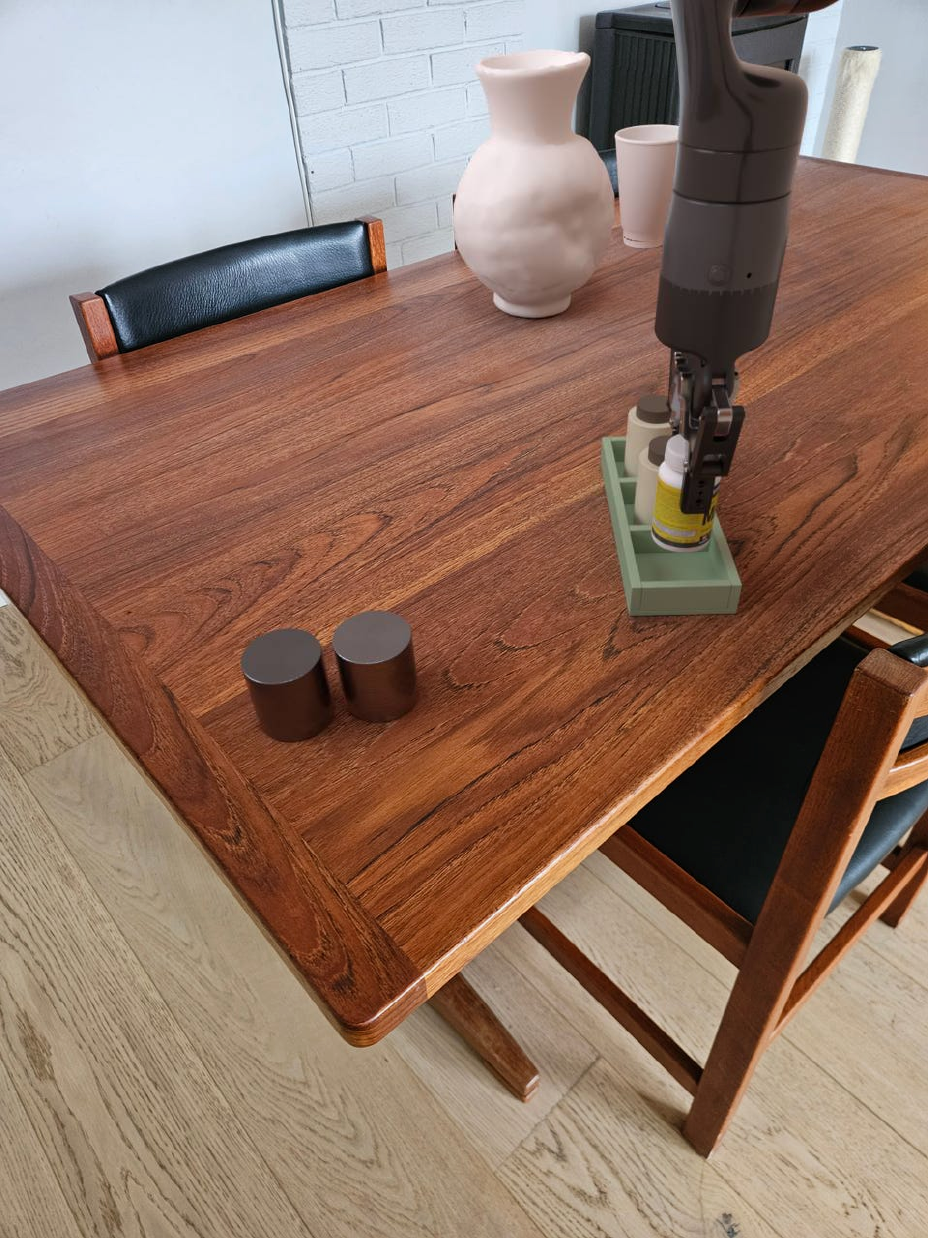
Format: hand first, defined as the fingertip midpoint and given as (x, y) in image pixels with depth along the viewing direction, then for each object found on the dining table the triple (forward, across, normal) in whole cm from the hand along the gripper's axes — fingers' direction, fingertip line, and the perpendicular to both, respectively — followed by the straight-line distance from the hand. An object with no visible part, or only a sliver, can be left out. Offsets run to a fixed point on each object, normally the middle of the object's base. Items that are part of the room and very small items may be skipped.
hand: (687, 490), depth 64 cm
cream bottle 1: (+9, +16, 0) cm, 18 cm away
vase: (+9, +64, +10) cm, 66 cm away
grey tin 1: (+9, -14, +30) cm, 34 cm away
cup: (+9, +91, -10) cm, 92 cm away
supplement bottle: (+5, 0, 0) cm, 5 cm away
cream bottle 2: (+9, +8, 0) cm, 12 cm away
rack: (+9, +8, 0) cm, 12 cm away
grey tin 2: (+9, -12, +24) cm, 28 cm away
